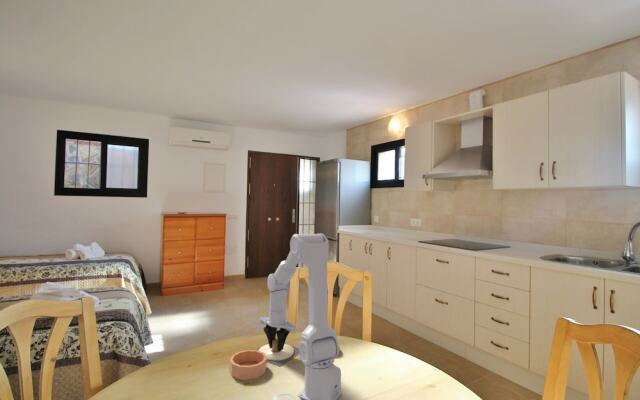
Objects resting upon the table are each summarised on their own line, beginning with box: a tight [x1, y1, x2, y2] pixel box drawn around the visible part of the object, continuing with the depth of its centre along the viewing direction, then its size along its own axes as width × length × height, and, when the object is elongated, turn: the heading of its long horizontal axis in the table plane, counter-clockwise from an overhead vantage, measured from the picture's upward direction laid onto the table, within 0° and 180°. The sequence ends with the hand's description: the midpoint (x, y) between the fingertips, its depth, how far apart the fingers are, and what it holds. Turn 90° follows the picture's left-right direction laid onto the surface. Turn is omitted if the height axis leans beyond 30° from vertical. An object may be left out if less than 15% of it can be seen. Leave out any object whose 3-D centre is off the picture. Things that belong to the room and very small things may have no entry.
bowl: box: [228, 349, 268, 381], centre depth 100 cm, size 11×11×4 cm
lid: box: [259, 338, 294, 361], centre depth 112 cm, size 12×12×4 cm
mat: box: [255, 342, 299, 368], centre depth 112 cm, size 14×14×1 cm
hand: (276, 348), depth 112 cm, fingers closed on lid, 3 cm apart
